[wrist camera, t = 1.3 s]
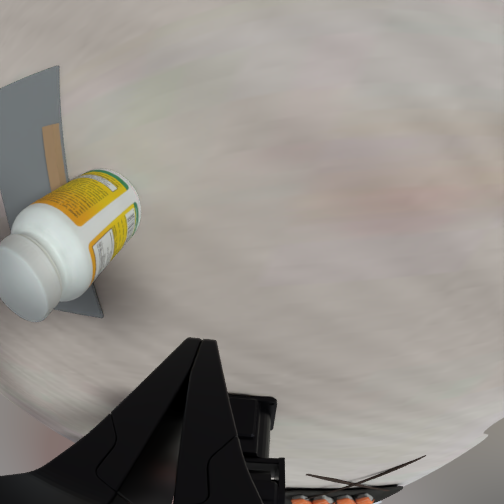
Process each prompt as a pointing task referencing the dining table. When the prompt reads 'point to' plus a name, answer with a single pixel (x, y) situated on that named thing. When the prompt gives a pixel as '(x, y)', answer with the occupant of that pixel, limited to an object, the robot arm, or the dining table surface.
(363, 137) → the dining table surface
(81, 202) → the supplement bottle
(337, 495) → the sushi plate
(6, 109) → the grey flat board
